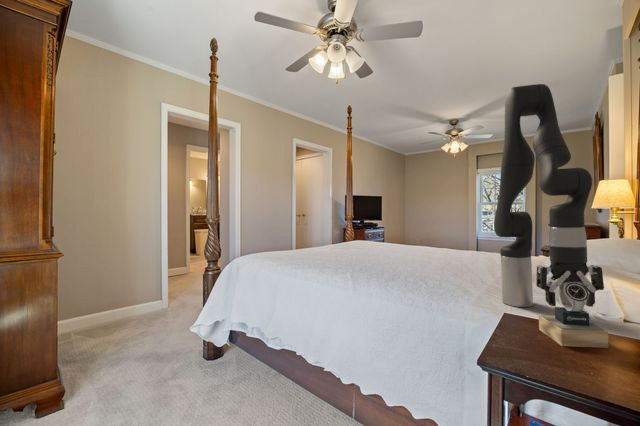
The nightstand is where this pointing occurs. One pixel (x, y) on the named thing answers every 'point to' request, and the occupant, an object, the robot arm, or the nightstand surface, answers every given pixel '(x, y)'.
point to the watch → (572, 304)
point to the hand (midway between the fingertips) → (569, 305)
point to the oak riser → (573, 333)
